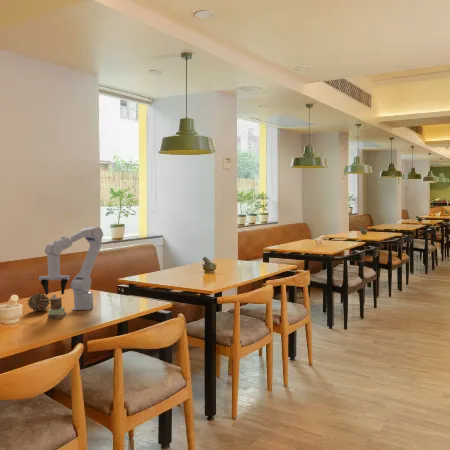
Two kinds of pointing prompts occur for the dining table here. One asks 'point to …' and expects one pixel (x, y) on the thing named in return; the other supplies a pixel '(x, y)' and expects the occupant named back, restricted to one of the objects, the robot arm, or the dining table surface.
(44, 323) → the dining table surface
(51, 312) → the slab top
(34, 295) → the pine cone
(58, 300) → the walnut block
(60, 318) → the slab bottom
